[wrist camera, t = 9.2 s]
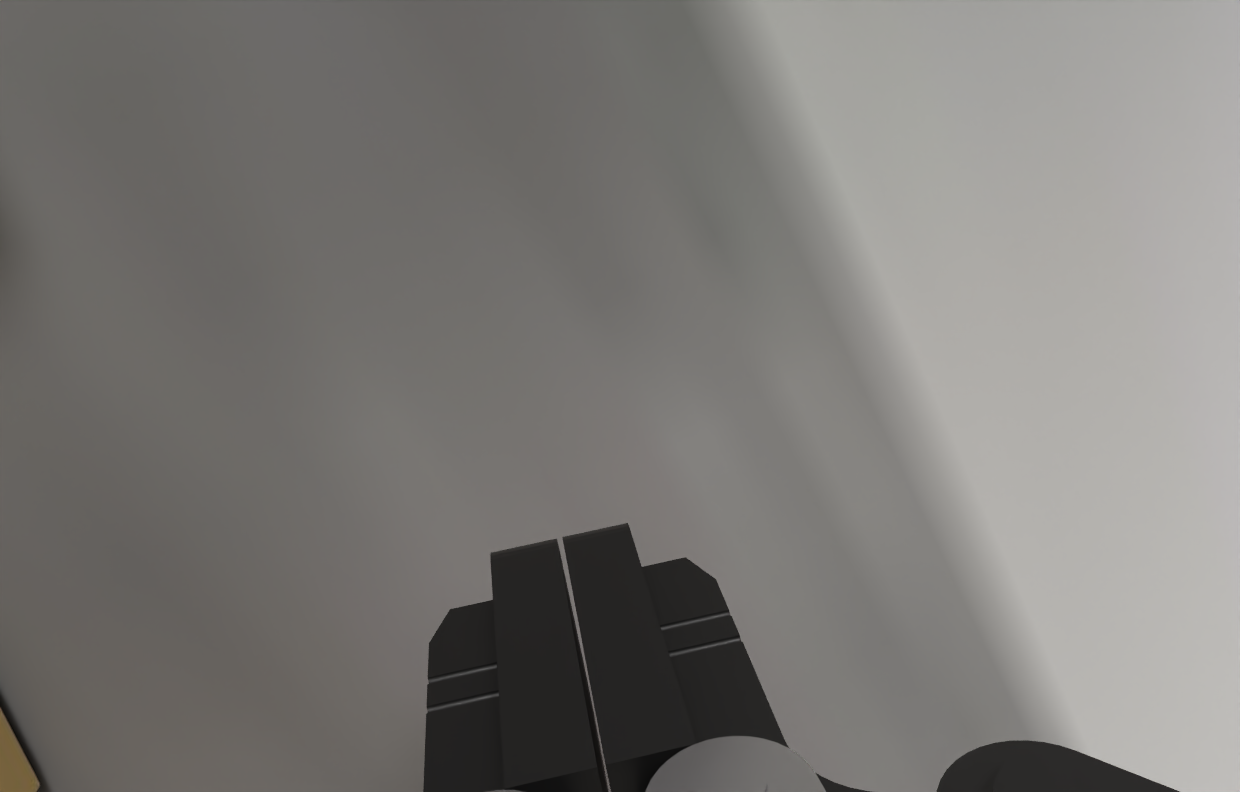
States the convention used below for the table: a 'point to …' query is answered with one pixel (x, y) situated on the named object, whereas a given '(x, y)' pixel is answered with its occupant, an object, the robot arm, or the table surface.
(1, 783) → the puzzle cube
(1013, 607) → the table surface
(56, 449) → the table surface
